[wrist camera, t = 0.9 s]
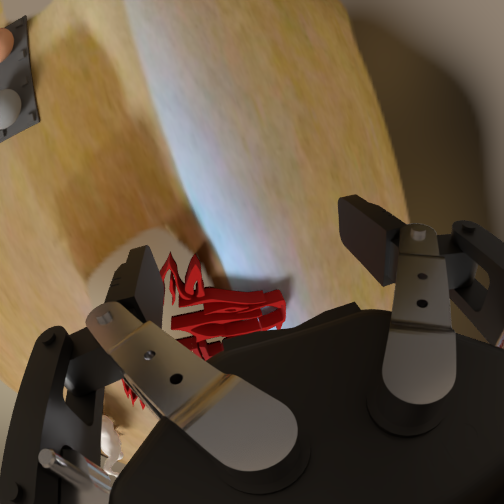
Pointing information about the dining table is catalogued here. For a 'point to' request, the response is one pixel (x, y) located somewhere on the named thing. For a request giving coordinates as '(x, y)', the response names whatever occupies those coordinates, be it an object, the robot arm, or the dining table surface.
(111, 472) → the person figurine
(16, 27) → the tray
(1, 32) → the ball
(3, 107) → the grey ball
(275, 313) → the decorative sculpture
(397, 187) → the dining table surface
